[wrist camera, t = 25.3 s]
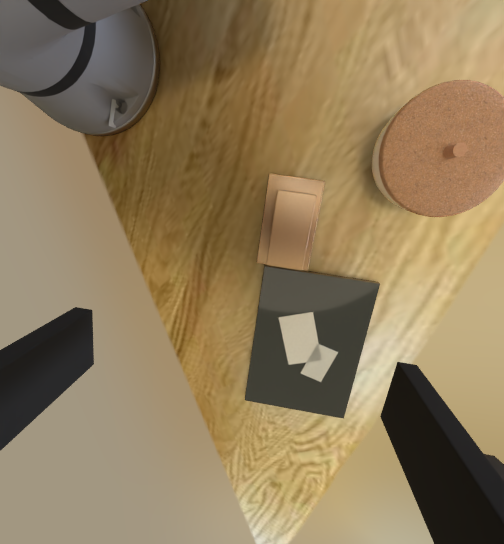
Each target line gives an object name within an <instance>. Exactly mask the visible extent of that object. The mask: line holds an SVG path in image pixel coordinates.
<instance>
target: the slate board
mask: <svg viewBox="0 0 504 544" xmlns="http://www.w3.org/2000/svg"><path fill="white" fill-rule="evenodd" d="M379 286H380V283H379V282H376V281H369V280H363V279H356V278H350V277H343V276H337V275H330V274H324V273H317V272H311V271H304V270H302V271H301V270H295V269H289V268H282V267H276V266H270V265H265V267H264V274H263V280H262V287H261V294H260V301H259V307H258V314H257V321H256V328H255V334H254V341H253V348H252V355H251V361H250V368H249V375H248V381H247V388H246V395H245V400H246V401H252V402H257V403H263V404H268V405H274V406H279V407H284V408H290V409H295V410H301V411H306V412H312V413H317V414H323V415H328V416H333V417H339V418H344V415H345V411H346V408H347V404H348V400H349V397H350V393H351V389H352V385H353V382H354V378H355V374H356V371H357V367H358V363H359V360H360V356H361V352H362V348H363V345H364V341H365V337H366V334H367V330H368V326H369V323H370V319H371V315H372V312H373V308H374V304H375V300H376V297H377V293H378V289H379Z"/></svg>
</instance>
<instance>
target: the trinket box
mask: <svg viewBox="0 0 504 544" xmlns="http://www.w3.org/2000/svg"><path fill="white" fill-rule="evenodd" d="M372 172H373V177H374V180H375V183H376V185H377V186H378V188H379V190H380V191H381V193H382V194H383V195H384V196H385V197H386V198H387V199H388V200H389V201H390V202H392V203H393V204H395V205H397V206H398V207H400V208H402V209H405V210H408V211H410V212H413V213H416V214H419V215H424V216H429V217H445V216H452V215H456V214H459V213H462V212H465V211H467V210H470V209H472V208H473V207H475V206H477V205H479V204H480V203H482V202H483V201H484V200H486V199H487V198H488V197H489V196H490V195H491V194H492V193H493V192H494V191H496V190H497V188H498V187H499V186H500V185H501V183H502V182H503V181H504V97H503V96H502V95H501V94H500V93H499V92H498V91H497V90H495V89H493V88H492V87H490V86H488V85H486V84H483V83H480V82H476V81H470V80H454V81H448V82H444V83H441V84H438V85H435V86H432V87H430V88H428V89H426V90H424V91H423V92H421V93H420V94H418V95H417V96H415V97H414V98H412V99H411V100H410V101H409V102H408V103H407V104H405V105H404V106H403V107H402V108H401V109H400V110H399V111H398V112H397V113H396V114H395V115H394V116H393V117H392V118H391V119H390V121H389V122H388V123H387V124H386V125H385V127H384V128H383V130H382V132H381V133H380V135H379V137H378V139H377V142H376V144H375V147H374V151H373V156H372Z"/></svg>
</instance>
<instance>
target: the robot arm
mask: <svg viewBox="0 0 504 544" xmlns="http://www.w3.org/2000/svg"><path fill="white" fill-rule="evenodd" d="M145 1H148V0H0V86H3V87H6V88H9V89H12V90H15V91H17V92H20V93H21V94H23V95H24V96H25V97H26V98H28V99H29V100H30V101H31V102H33V103H34V104H35V105H36V106H37V107H39V108H40V109H41V110H42V111H43V112H45V113H46V114H47V115H48V116H50V117H51V118H53V119H54V120H55V121H57V122H59V123H60V124H62V125H64V126H66V127H68V128H70V129H73V130H75V131H78V132H82V133H85V134H89V135H94V136H108V135H114V134H117V133H120V132H122V131H125V130H126V129H128V128H130V127H131V126H133V125H134V124H135V123H136V122H138V121H139V120H140V119H141V117H142V116H143V115H144V114H145V112H146V111H147V110H148V108H149V106H150V104H151V102H152V100H153V98H154V95H155V93H156V89H157V85H158V80H159V72H160V57H159V49H158V43H157V39H156V35H155V33H154V30H153V27H152V25H151V22H150V20H149V18H148V16H147V15H146V13H145V11H144V10H143V8H142V7H141V5H140V3H143V2H145ZM92 326H93V322H92V310H89V309H83V308H77V307H75V308H73V309H72V310H70V311H68V312H66V313H65V314H63V315H61V316H59V317H58V318H56V319H54V320H52V321H51V322H49V323H47V324H45V325H44V326H42V327H40V328H38V329H37V330H35V331H33V332H31V333H29V334H28V335H26V336H24V337H23V338H21V339H19V340H17V341H15V342H14V343H12V344H10V345H8V346H7V347H5V348H3V349H1V350H0V450H2V449H3V448H4V447H5V446H6V445H7V444H8V443H9V442H10V441H11V440H12V439H13V438H15V437H16V436H17V435H18V434H19V433H20V432H21V431H22V430H23V429H24V428H25V427H26V426H27V425H29V424H30V423H31V422H32V421H33V420H34V419H35V418H36V417H37V416H38V415H39V414H40V413H42V412H43V411H44V410H45V409H46V408H47V407H48V406H49V405H50V404H51V403H52V402H53V401H55V400H56V399H57V398H58V397H59V396H60V395H61V394H62V393H63V392H64V391H65V390H66V389H67V388H69V387H70V386H71V385H72V384H73V383H74V382H75V381H76V380H77V379H78V378H79V377H80V376H82V375H83V374H84V373H85V372H86V371H87V370H88V369H89V368H90V367H91V366H92V365H93V364H94V360H93V359H94V358H93V327H92ZM381 419H382V421H383V423H384V426H385V428H386V431H387V433H388V435H389V437H390V440H391V443H392V445H393V447H394V449H395V452H396V454H397V457H398V459H399V461H400V464H401V466H402V468H403V471H404V473H405V475H406V478H407V480H408V483H409V485H410V487H411V490H412V492H413V495H414V497H415V499H416V501H417V504H418V506H419V509H420V511H421V513H422V516H423V518H424V521H425V523H426V525H427V528H428V530H429V532H430V535H431V537H432V539H433V542H434V544H504V464H503V463H502V462H500V461H499V460H498V459H497V458H496V457H495V456H491V455H486V454H483V453H482V451H481V450H480V449H479V447H478V446H477V445H476V443H475V442H474V441H473V439H472V438H471V437H470V435H469V434H468V433H467V431H466V430H465V429H464V427H463V426H462V425H461V423H460V422H459V421H458V420H457V418H456V417H455V416H454V414H453V413H452V411H451V410H450V409H449V408H448V406H447V405H446V404H445V402H444V401H443V400H442V398H441V397H440V396H439V394H438V393H437V392H436V390H435V389H434V388H433V386H432V385H431V383H430V382H429V381H428V380H427V378H426V377H425V376H424V374H423V373H422V372H421V370H420V369H419V368H418V366H417V365H413V364H407V363H401V362H397V366H396V369H395V372H394V375H393V378H392V381H391V385H390V388H389V391H388V394H387V397H386V401H385V404H384V407H383V410H382V413H381Z"/></svg>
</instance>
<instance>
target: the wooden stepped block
mask: <svg viewBox="0 0 504 544" xmlns="http://www.w3.org/2000/svg"><path fill="white" fill-rule="evenodd" d="M324 185H325V181H321V180H314V179H307V178H299V177H292V176H285V175H277V174H269V179H268V186H267V193H266V200H265V207H264V214H263V221H262V228H261V235H260V242H259V249H258V256H257V263H262V264H266V265H270V266H276V267H282V268H289V269H295V270H301V271H302V270H306V271H307V270H308V266H309V261H310V256H311V251H312V246H313V241H314V236H315V231H316V226H317V221H318V216H319V211H320V205H321V200H322V195H323V190H324Z"/></svg>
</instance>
